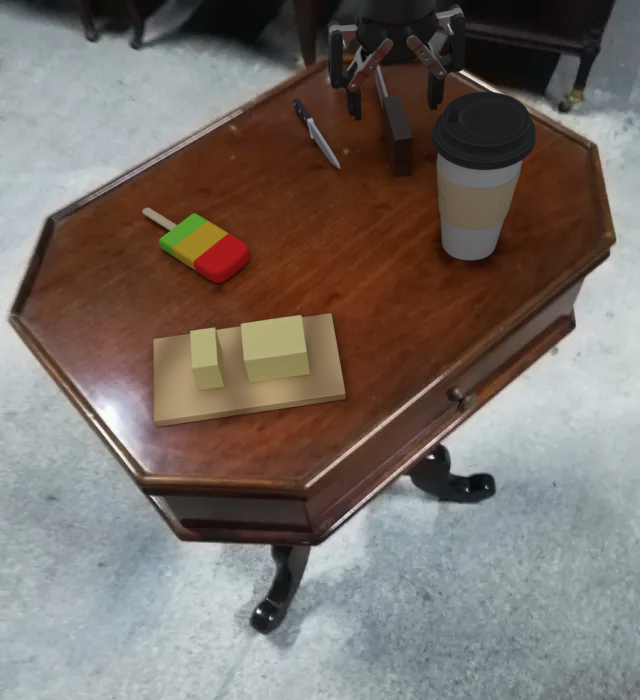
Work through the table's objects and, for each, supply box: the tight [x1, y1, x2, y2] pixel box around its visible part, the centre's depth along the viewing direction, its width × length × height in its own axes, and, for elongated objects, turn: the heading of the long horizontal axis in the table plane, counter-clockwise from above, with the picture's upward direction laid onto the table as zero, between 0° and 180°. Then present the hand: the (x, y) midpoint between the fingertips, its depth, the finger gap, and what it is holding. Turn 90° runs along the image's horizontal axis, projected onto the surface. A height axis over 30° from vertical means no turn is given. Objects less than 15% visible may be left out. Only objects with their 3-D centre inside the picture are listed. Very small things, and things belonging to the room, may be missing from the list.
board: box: [153, 312, 347, 428], centre depth 72 cm, size 18×10×1 cm, turn 97°
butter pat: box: [189, 327, 224, 390], centre depth 70 cm, size 2×4×4 cm, turn 7°
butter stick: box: [240, 314, 310, 383], centre depth 70 cm, size 6×4×4 cm
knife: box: [292, 97, 341, 169], centre depth 90 cm, size 15×1×2 cm, turn 22°
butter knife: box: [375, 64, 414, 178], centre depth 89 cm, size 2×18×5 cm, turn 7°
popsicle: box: [142, 207, 251, 284], centre depth 82 cm, size 6×15×2 cm, turn 49°
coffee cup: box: [431, 91, 537, 261], centre depth 73 cm, size 9×9×15 cm
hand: (394, 111), depth 84 cm, fingers open, 8 cm apart
